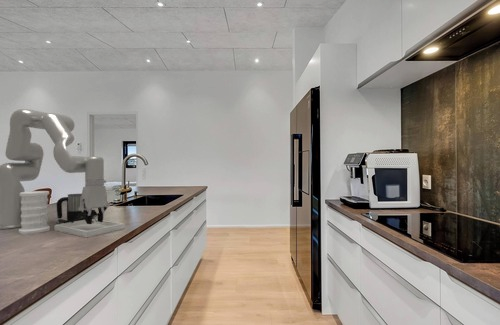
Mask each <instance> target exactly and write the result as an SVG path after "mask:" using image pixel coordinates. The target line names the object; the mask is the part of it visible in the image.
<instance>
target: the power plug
mask: <svg viewBox="0 0 500 325" xmlns="http://www.w3.org/2000/svg"><path fill="white" fill-rule="evenodd" d="M91 215H92V219H94V221H95V222H96V223H97V220H96V219H97V218H96V217H98V212H97V211H96V209H92V210H91ZM82 217H83V218H84V220H85V221H86V215H85V214H84V213H83V212H81V213H80V214H79V215H78V216H77V217H76V218H75V220H73V221H72V222H71V223H73V222H74V221H76V220H79V219H80V218H82ZM92 224H94V222H93V220H92Z"/></svg>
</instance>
